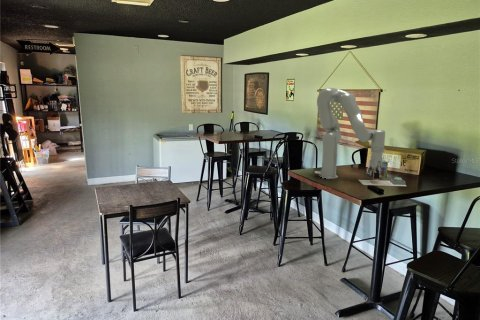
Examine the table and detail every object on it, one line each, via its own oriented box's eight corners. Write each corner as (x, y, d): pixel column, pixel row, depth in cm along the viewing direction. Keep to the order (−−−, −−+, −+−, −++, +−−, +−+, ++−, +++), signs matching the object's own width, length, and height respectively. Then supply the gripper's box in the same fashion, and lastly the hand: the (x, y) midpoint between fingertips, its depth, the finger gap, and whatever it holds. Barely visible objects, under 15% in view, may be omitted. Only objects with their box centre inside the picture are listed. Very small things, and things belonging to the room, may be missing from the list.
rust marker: (373, 180, 208) (374, 166, 206) (372, 178, 211) (373, 165, 209) (379, 180, 207) (380, 166, 206) (377, 178, 211) (378, 165, 209)
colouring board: (363, 185, 203) (363, 181, 202) (358, 181, 215) (358, 176, 214) (406, 187, 200) (407, 182, 200) (399, 182, 212) (400, 178, 212)
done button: (395, 182, 204) (395, 178, 204) (392, 180, 209) (393, 177, 208) (402, 182, 204) (403, 179, 203) (400, 180, 208) (400, 177, 208)
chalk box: (386, 178, 221) (388, 157, 218) (373, 178, 221) (375, 157, 219) (381, 175, 230) (383, 154, 227) (368, 175, 231) (370, 154, 228)
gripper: (367, 147, 214) (365, 175, 217) (375, 151, 198) (373, 181, 201) (379, 147, 213) (377, 175, 217) (388, 151, 197) (385, 181, 201)
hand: (375, 177), depth 209 cm, fingers closed on rust marker, 3 cm apart
